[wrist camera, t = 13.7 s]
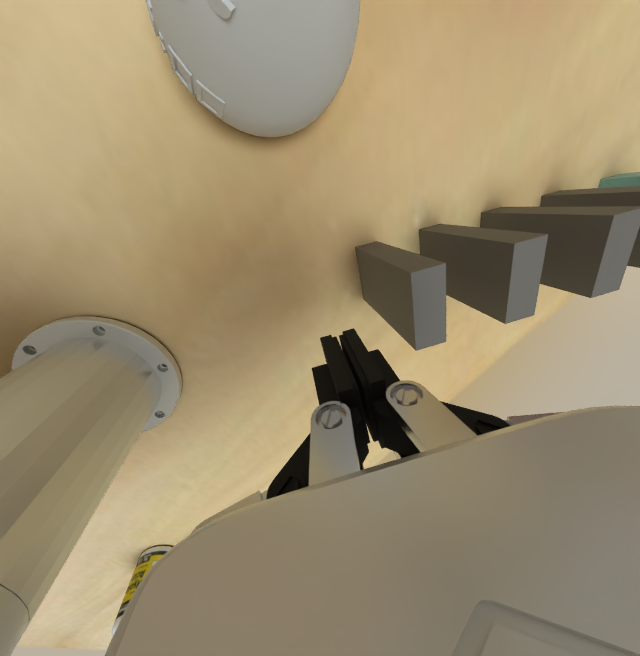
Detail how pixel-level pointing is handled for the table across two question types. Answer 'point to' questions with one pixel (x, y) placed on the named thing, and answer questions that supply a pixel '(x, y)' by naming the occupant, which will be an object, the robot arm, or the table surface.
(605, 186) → the domino
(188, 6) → the grey teardrop lump
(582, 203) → the domino
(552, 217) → the domino
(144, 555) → the supplement bottle
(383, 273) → the domino
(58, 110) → the table surface
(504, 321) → the domino
